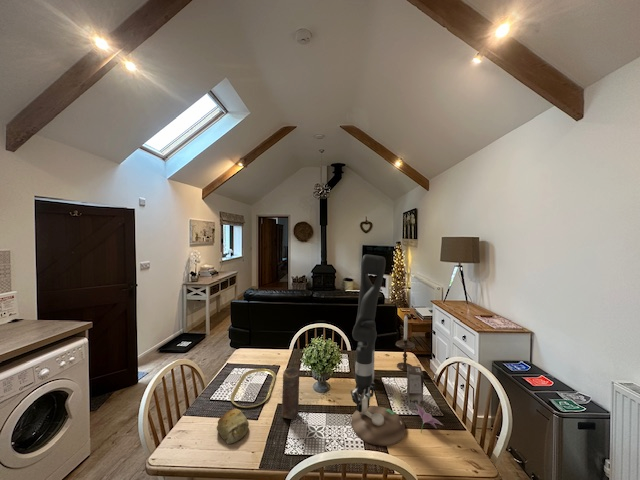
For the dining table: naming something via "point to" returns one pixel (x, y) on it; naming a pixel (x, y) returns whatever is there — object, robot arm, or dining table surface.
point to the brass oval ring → (242, 381)
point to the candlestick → (404, 346)
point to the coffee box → (415, 386)
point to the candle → (290, 393)
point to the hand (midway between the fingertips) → (362, 409)
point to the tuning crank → (376, 417)
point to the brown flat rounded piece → (379, 427)
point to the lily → (426, 417)
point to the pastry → (232, 426)
